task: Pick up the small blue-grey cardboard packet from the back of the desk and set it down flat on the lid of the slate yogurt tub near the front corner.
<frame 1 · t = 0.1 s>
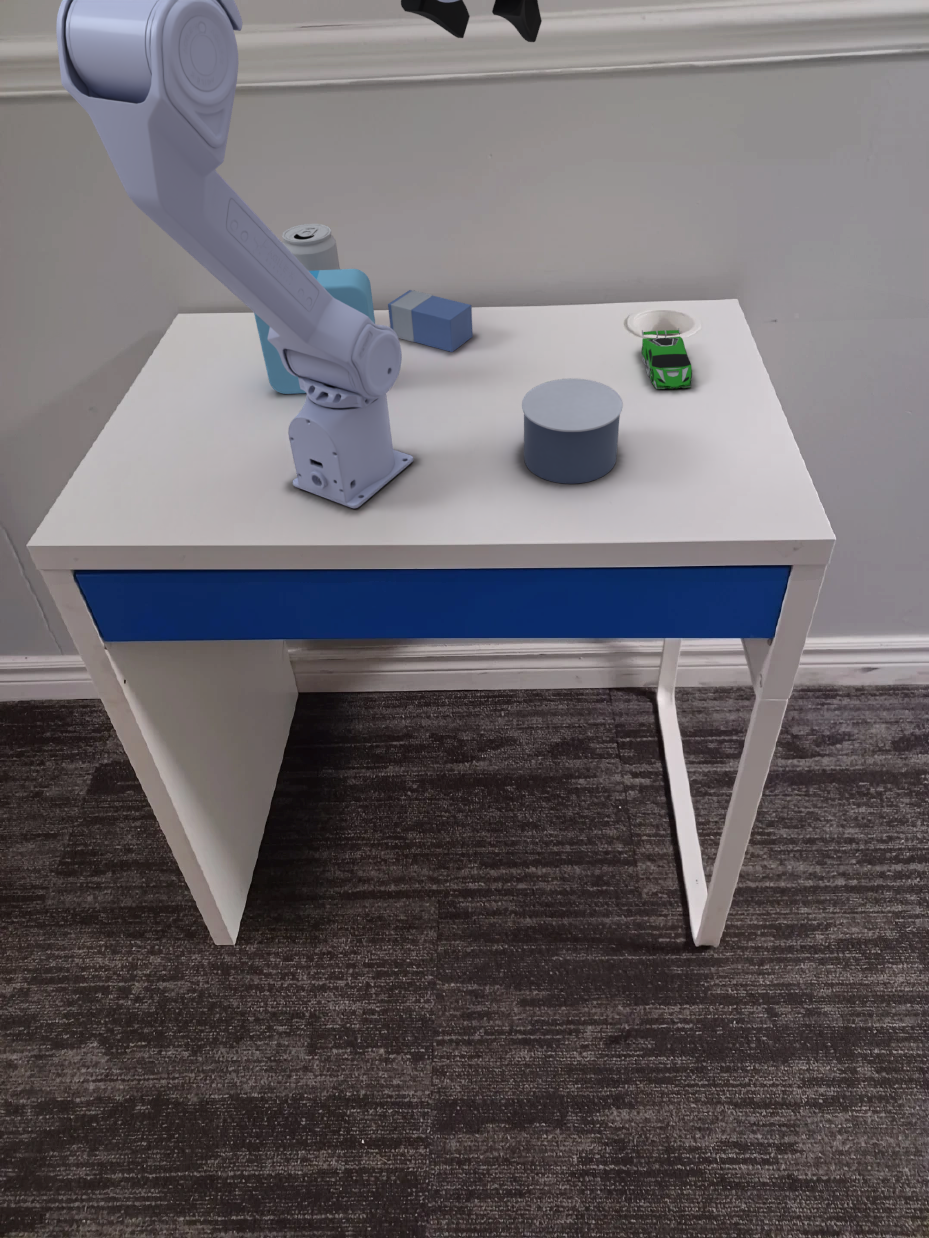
hand: (498, 29, 82), 32 cm above the table, tool tilted 50°, fingers open, 7 cm apart
toy car: (665, 369, 99), on the table
packet: (431, 336, 107), on the table
beverage can: (323, 332, 110), on the table
data package: (327, 384, 101), on the table
yogurt tub: (569, 457, 87), on the table
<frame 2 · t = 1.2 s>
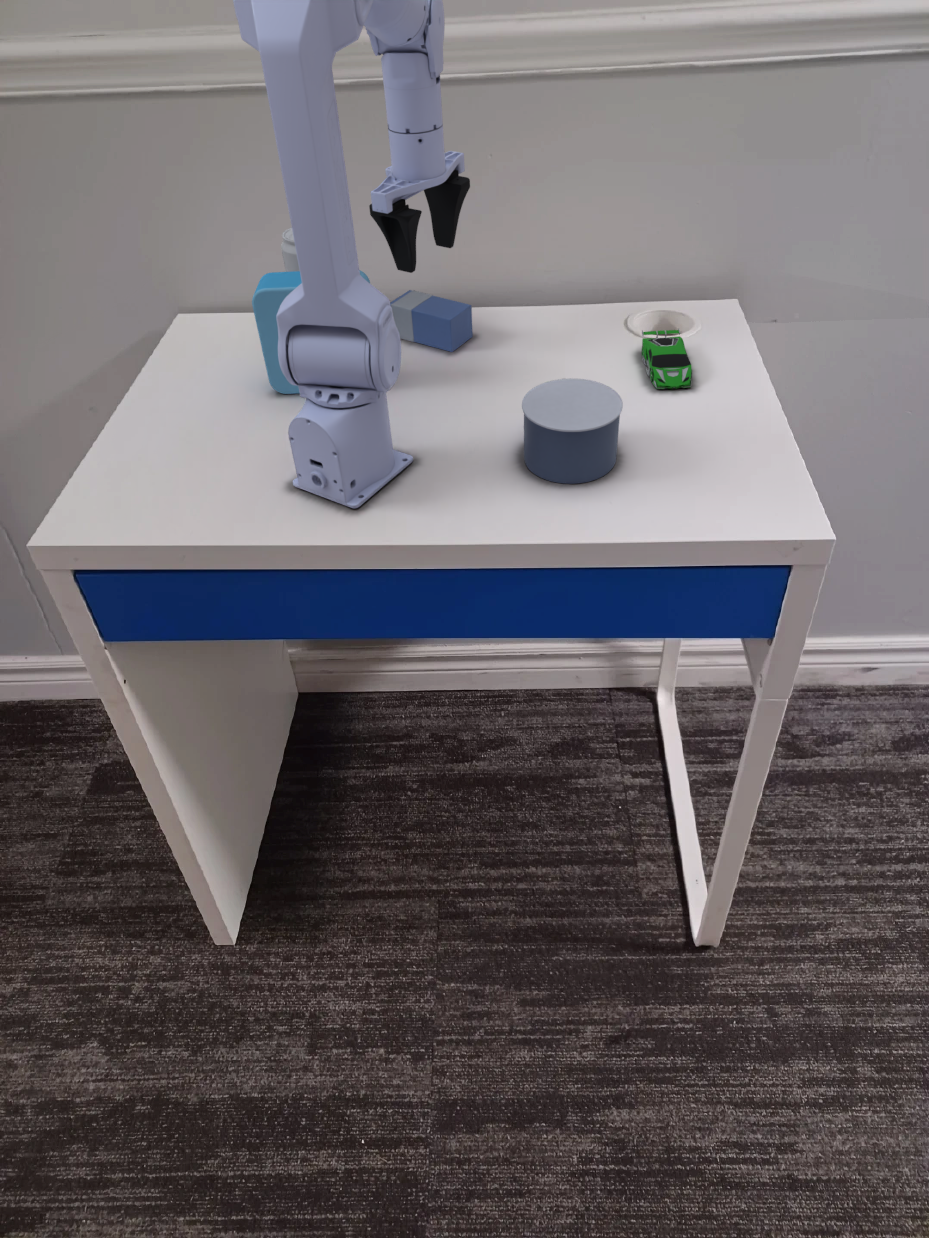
hand: (425, 258, 101), 9 cm above the table, tool pointing down, fingers open, 7 cm apart
nothing on the table moved.
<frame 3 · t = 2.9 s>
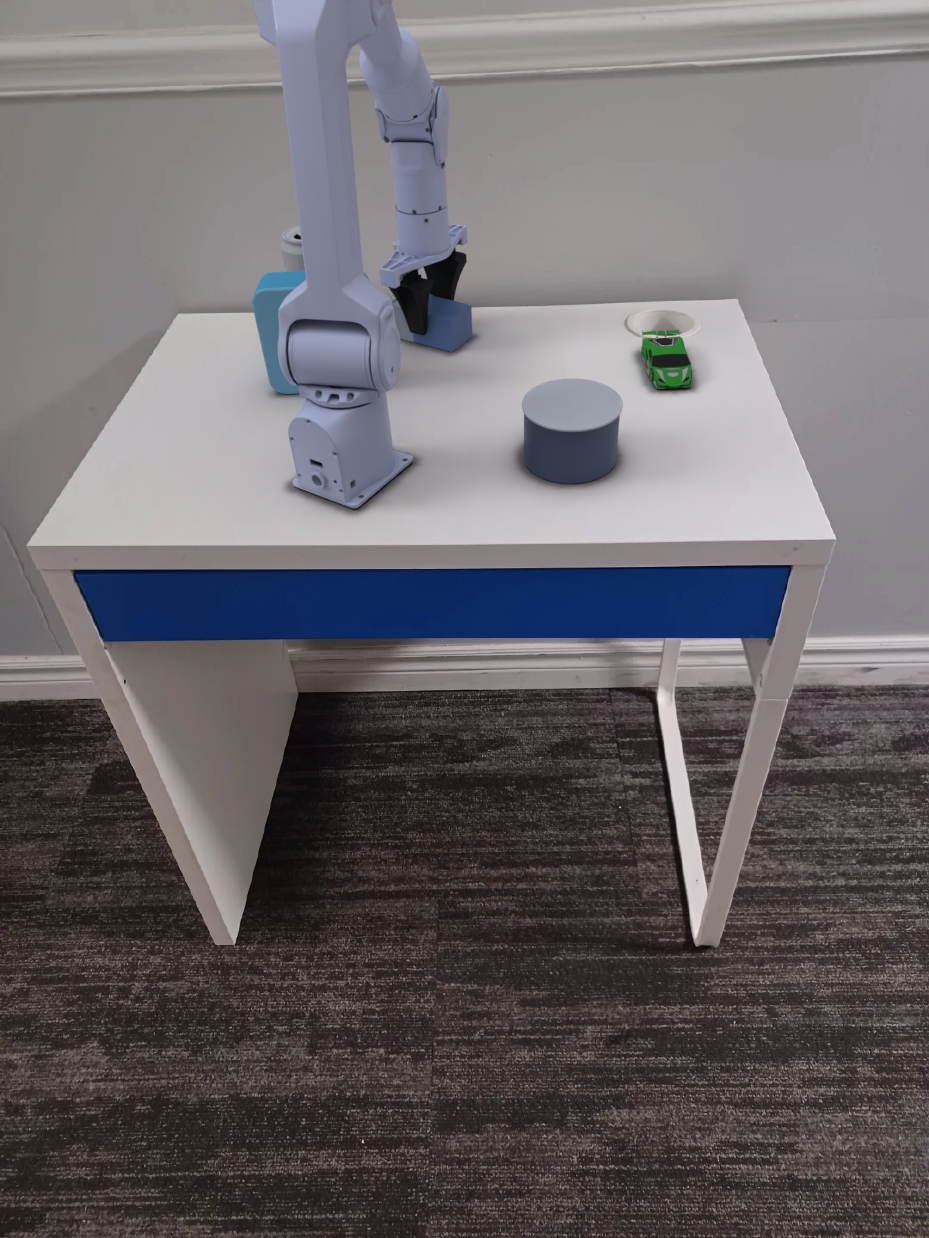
hand: (430, 324, 106), 2 cm above the table, tool pointing down, fingers closed on packet, 4 cm apart
packet: (431, 336, 107), on the table, touching gripper
everything else where it was.
when the fingers open (8 cm above the table, at t = 7.9 s): packet stays where it is, resting on yogurt tub.
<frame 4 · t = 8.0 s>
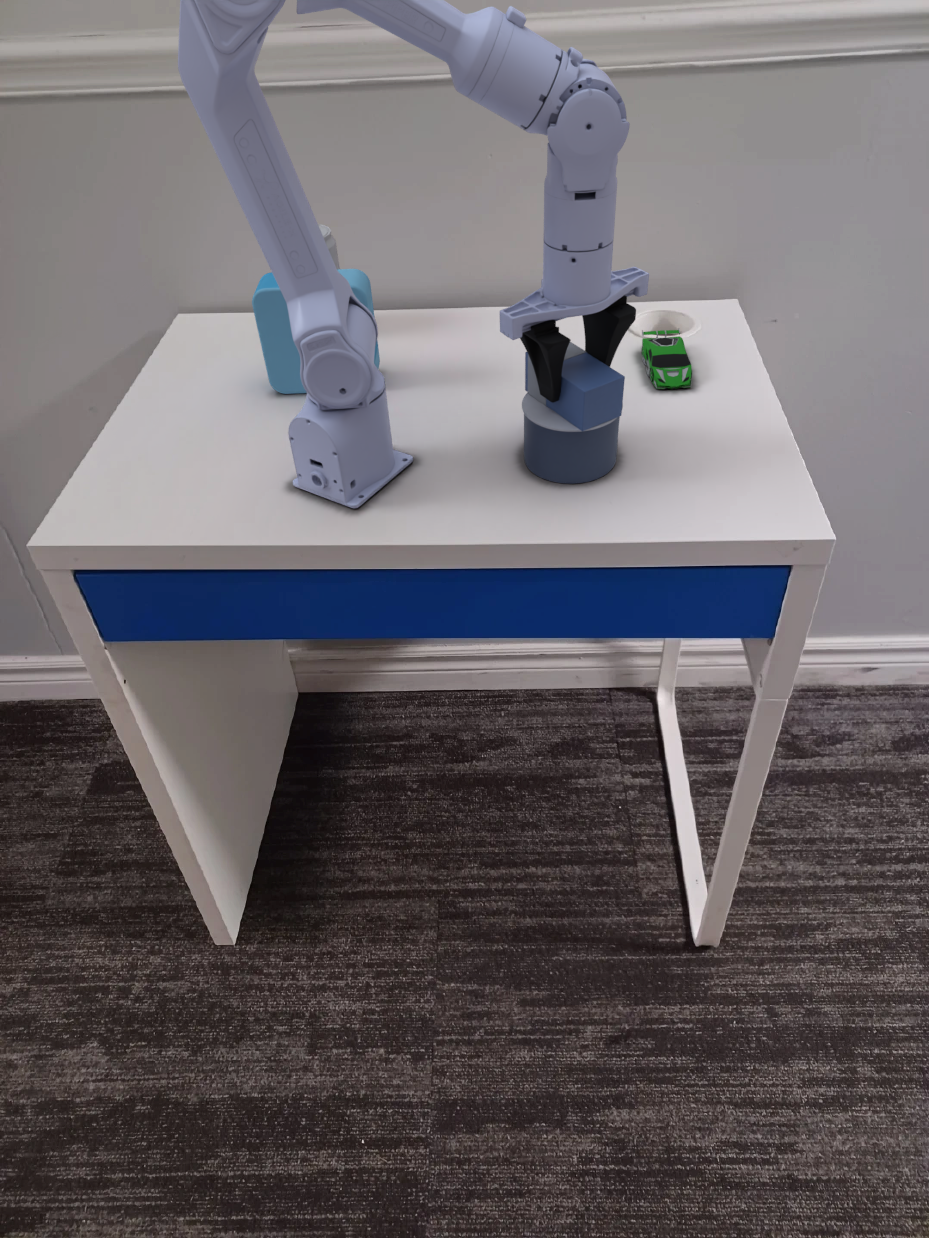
hand: (572, 388, 82), 8 cm above the table, tool pointing down, fingers open, 5 cm apart
packet: (572, 403, 83), point 6 cm above the table, touching yogurt tub
yogurt tub: (569, 457, 87), on the table, touching packet
everything else where it was.
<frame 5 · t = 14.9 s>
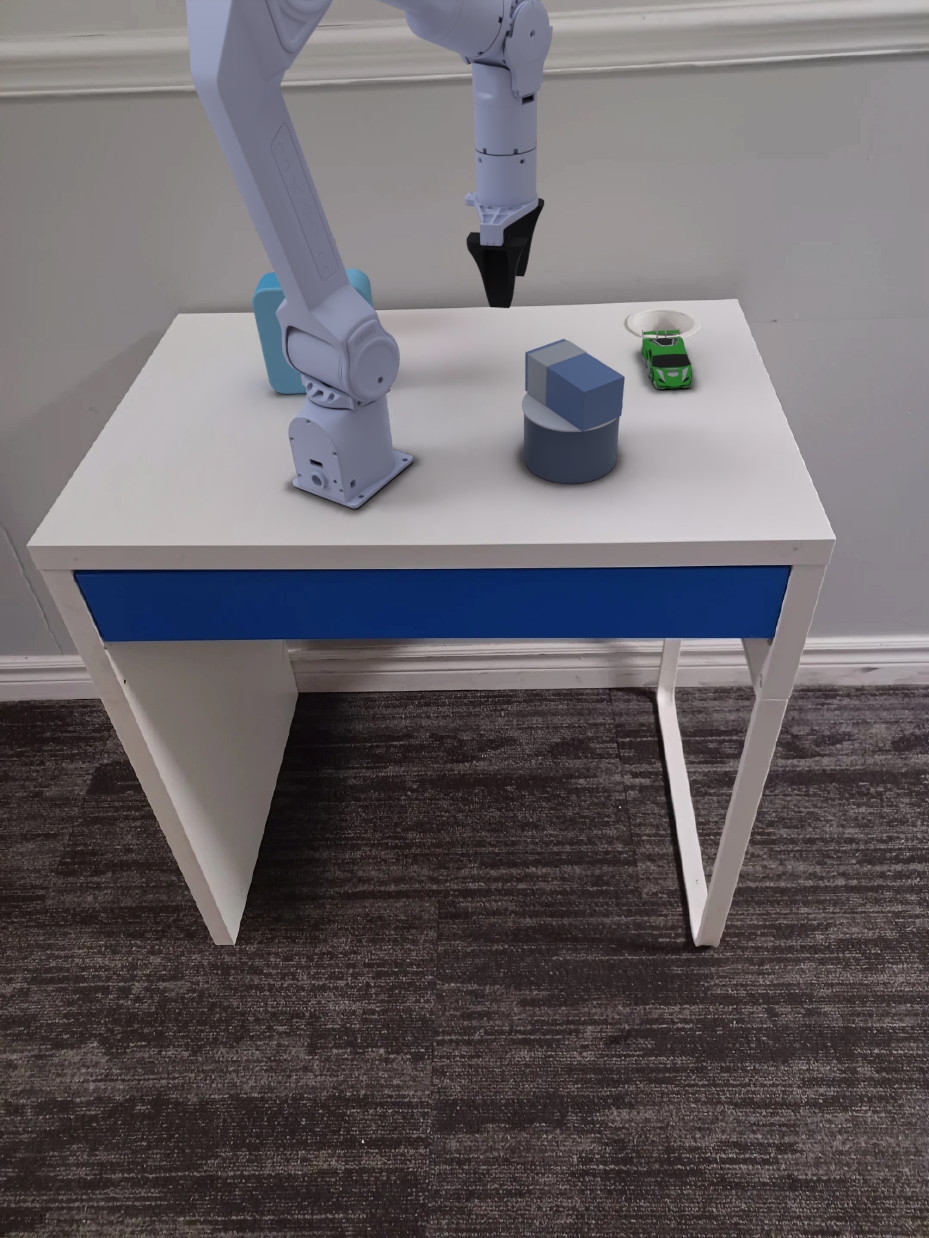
hand: (507, 290, 91), 10 cm above the table, tool pointing down, fingers open, 7 cm apart
nothing on the table moved.
at the end: packet 0.0 cm off-centre on the yogurt tub, point 6.0 cm above the yogurt tub's base; the gripper is holding nothing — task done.
